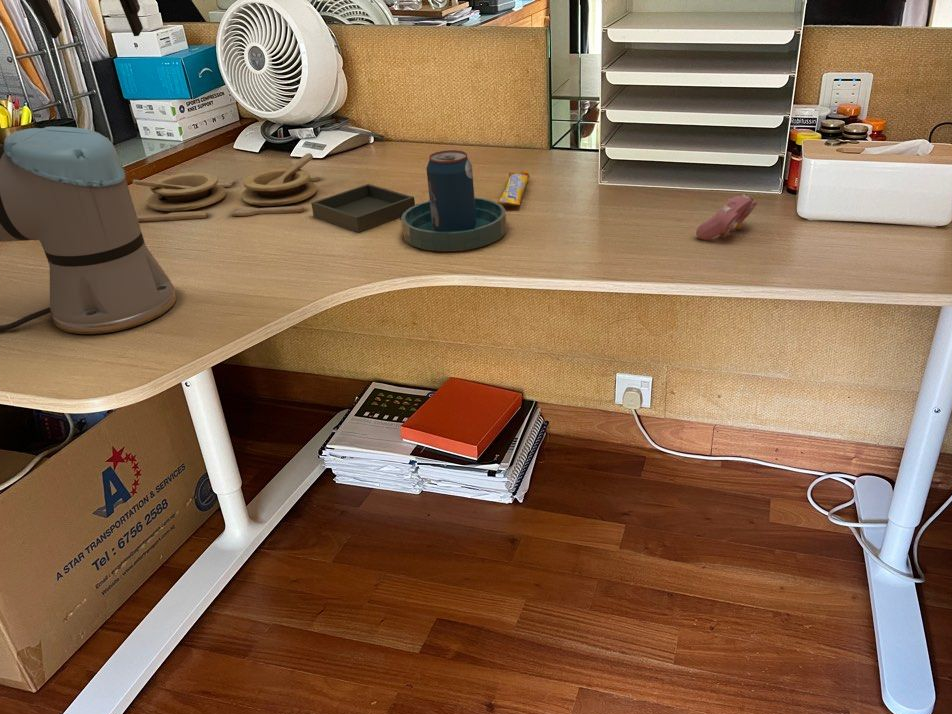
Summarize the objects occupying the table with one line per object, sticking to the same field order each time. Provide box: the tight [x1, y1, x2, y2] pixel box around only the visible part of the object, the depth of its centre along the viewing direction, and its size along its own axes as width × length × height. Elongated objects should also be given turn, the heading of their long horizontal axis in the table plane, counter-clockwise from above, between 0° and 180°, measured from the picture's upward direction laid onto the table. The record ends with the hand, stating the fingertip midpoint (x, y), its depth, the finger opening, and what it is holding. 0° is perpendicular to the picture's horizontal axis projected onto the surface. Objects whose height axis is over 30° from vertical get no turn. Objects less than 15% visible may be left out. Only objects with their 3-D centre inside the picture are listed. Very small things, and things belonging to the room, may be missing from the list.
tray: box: [310, 183, 416, 233], centre depth 141 cm, size 12×12×2 cm
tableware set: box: [132, 152, 320, 223], centre depth 149 cm, size 30×20×6 cm, turn 94°
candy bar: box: [496, 171, 531, 207], centre depth 147 cm, size 17×4×2 cm, turn 174°
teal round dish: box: [400, 196, 508, 252], centre depth 132 cm, size 16×16×3 cm
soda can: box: [425, 149, 476, 232], centre depth 129 cm, size 7×7×12 cm
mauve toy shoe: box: [695, 193, 758, 240], centre depth 127 cm, size 10×5×7 cm, turn 143°
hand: (97, 33), depth 139 cm, fingers open, 13 cm apart
